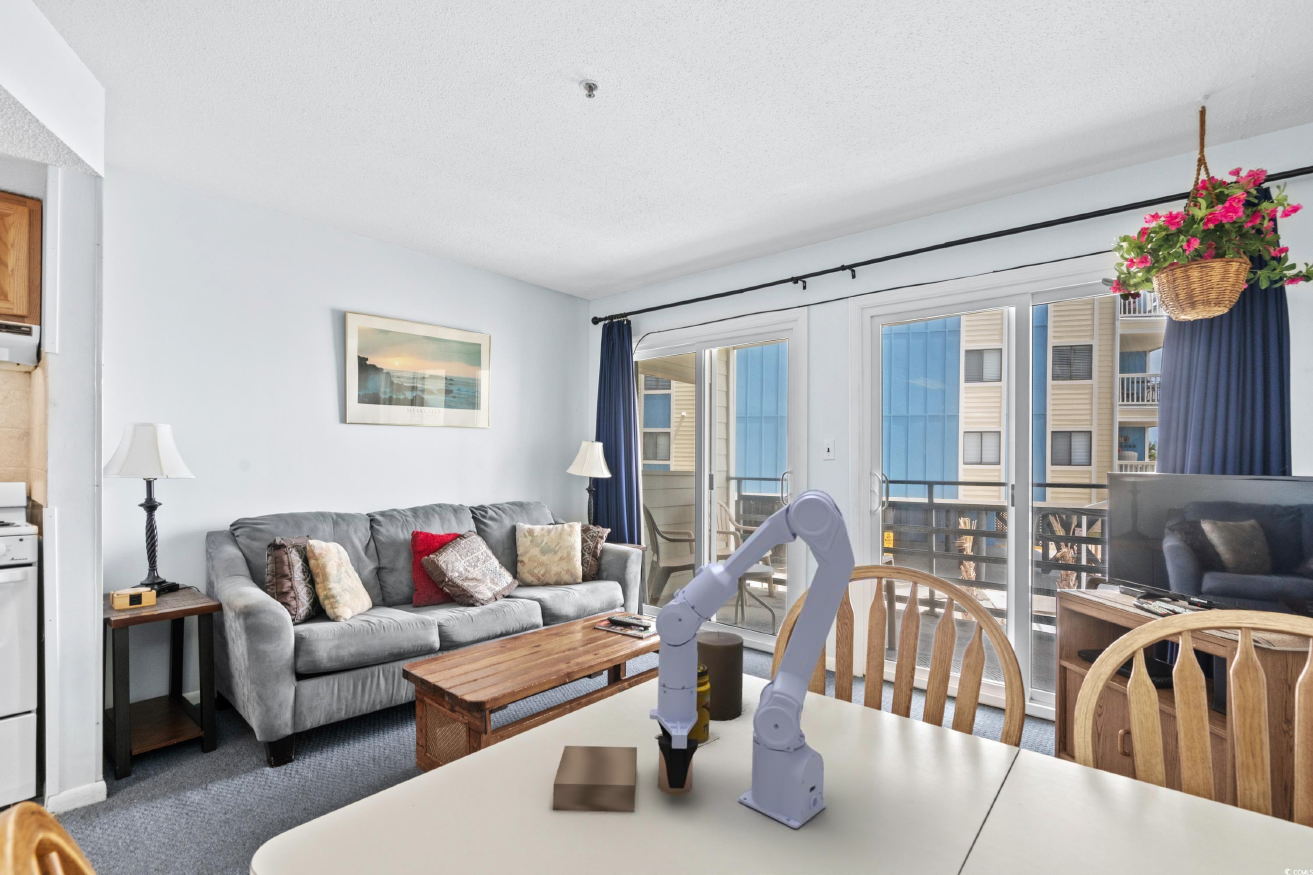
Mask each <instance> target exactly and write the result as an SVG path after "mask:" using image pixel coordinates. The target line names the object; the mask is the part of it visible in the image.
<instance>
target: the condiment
mask: <svg viewBox="0 0 1313 875" xmlns="http://www.w3.org/2000/svg"><path fill="white" fill-rule="evenodd" d="M696 711H697V713H698V719H697V721H696V723H695V724H694V726H693V727H692V729H691V730H690V732H689V733H688V736H687V739H698V747H701V746H705V745H708V743H711V742H713V741H715V740H717V739H719V738H720V736H718V735H716V734H713V733H711V732H710V719H709V711H710V684H709V682H708V668H707V667H706V666H705V665H703V664H700V663H698V664H697V708H696ZM658 736H663V734H662V733H659V734H656V735H654V737H655V738H657V739H658Z"/></svg>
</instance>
